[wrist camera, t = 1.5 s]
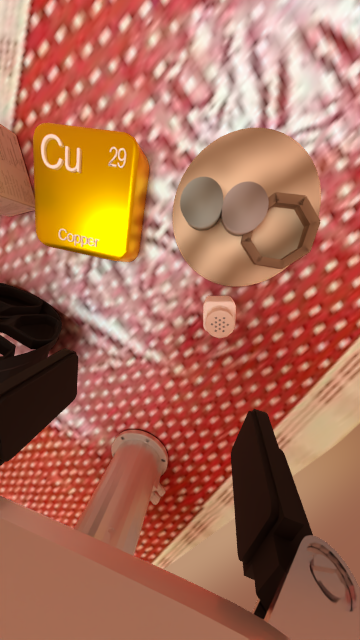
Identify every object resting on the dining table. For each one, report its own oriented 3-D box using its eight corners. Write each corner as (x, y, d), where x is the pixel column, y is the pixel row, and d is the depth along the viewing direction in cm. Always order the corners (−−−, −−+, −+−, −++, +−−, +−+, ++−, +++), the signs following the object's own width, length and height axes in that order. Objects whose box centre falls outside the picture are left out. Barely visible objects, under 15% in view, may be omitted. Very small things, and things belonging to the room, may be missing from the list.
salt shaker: (231, 295, 28) (239, 306, 19) (230, 320, 29) (237, 342, 20) (205, 295, 29) (201, 306, 20) (205, 319, 30) (201, 341, 21)
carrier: (338, 232, 24) (369, 223, 19) (218, 307, 29) (218, 315, 24) (266, 101, 22) (281, 53, 17) (151, 207, 27) (138, 193, 22)
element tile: (57, 247, 32) (31, 243, 27) (58, 142, 27) (27, 116, 23) (138, 264, 30) (124, 263, 25) (152, 154, 26) (138, 129, 21)
